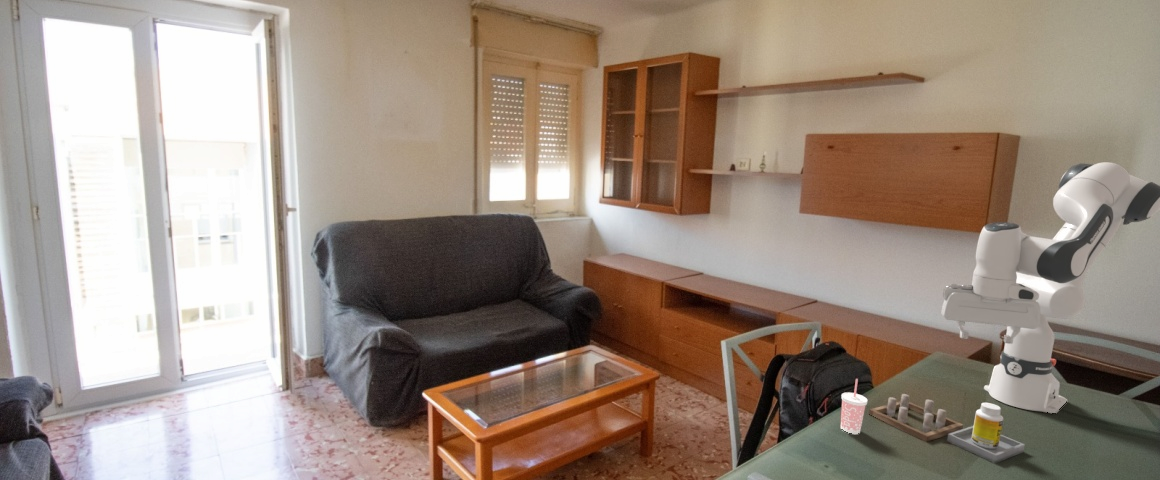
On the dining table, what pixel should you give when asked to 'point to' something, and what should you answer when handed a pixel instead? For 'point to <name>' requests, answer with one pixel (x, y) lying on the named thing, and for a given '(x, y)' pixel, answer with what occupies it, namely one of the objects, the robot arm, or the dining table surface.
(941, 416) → the wooden peg board
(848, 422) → the beverage cup
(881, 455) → the dining table surface
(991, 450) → the tray
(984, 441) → the supplement bottle
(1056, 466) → the dining table surface
